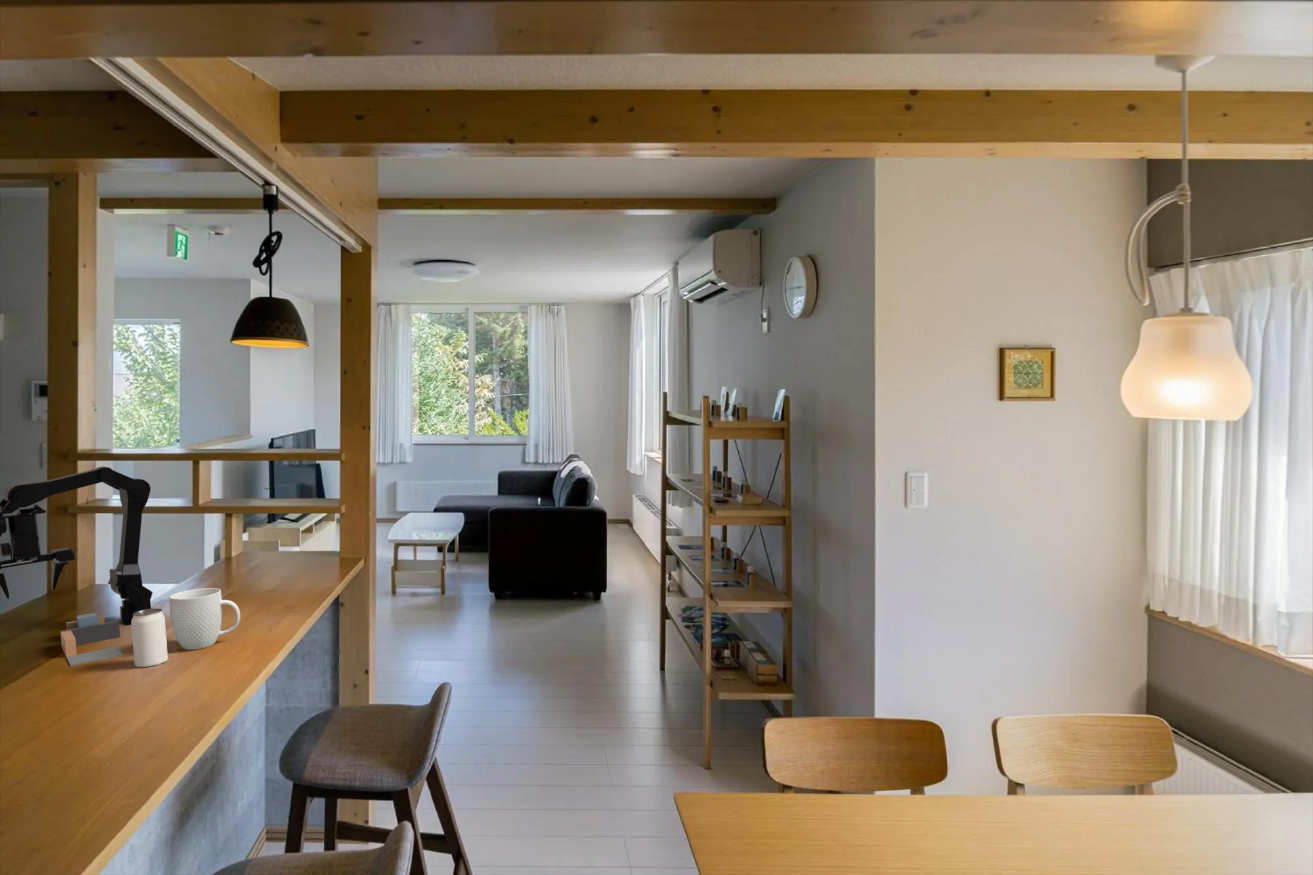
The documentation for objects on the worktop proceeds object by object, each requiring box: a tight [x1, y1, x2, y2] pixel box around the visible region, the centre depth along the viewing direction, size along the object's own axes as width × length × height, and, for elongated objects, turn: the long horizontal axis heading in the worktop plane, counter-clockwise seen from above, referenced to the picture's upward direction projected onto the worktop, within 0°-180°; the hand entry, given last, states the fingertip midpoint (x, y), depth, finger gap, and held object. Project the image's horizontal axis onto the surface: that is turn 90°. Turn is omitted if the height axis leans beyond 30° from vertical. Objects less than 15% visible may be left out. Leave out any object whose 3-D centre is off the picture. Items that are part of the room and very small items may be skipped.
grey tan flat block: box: [59, 620, 121, 658], centre depth 197 cm, size 12×12×4 cm
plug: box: [76, 612, 99, 628], centre depth 204 cm, size 4×4×6 cm
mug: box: [168, 587, 241, 651], centre depth 194 cm, size 15×11×13 cm
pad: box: [66, 646, 123, 667], centre depth 188 cm, size 10×8×1 cm
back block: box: [65, 615, 106, 630], centre depth 208 cm, size 8×2×4 cm, turn 131°
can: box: [130, 608, 169, 669], centre depth 182 cm, size 6×6×12 cm
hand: (31, 594), depth 201 cm, fingers open, 9 cm apart
